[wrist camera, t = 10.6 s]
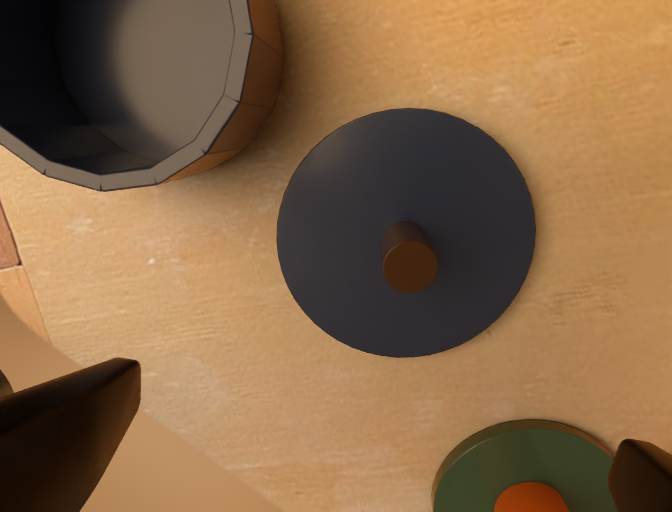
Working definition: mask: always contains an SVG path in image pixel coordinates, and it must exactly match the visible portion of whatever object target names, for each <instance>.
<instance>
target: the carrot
mask: <svg viewBox="0 0 672 512" xmlns="http://www.w3.org/2000/svg"><path fill="white" fill-rule="evenodd" d="M494 512H570V511H569V509H568V508H567V506H566V504H565V502H564V500H563V498H562V496H561V495H560V494H559V493H558V492H557V491H556V490H555V489H554V488H552V487H550V486H548V485H546V484H543V483H539V482H523V483H518V484H515V485H513V486H511V487H509V488H507V489H506V490H505V491H503V492H502V493H501V494H500V496H499V497H498V498H497V500H496V502H495V506H494Z"/></svg>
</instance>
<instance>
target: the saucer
mask: <svg viewBox="0 0 672 512" xmlns="http://www.w3.org/2000/svg"><path fill="white" fill-rule="evenodd" d="M613 460H614V458H613V457H612V456H611V454H610V453H609V452H608V451H607V450H606V448H605V447H603V446H602V445H601V444H600V443H599V442H598V441H597V440H595V439H594V438H592V437H591V436H589V435H588V434H586V433H584V432H582V431H580V430H578V429H576V428H573V427H570V426H567V425H564V424H561V423H556V422H552V421H543V420H520V421H511V422H507V423H502V424H498V425H495V426H492V427H489V428H486V429H484V430H482V431H480V432H478V433H476V434H474V435H472V436H471V437H469V438H468V439H466V440H464V441H463V442H462V443H461V444H459V445H458V446H457V447H456V448H455V449H454V450H453V451H452V452H451V453H450V454H449V455H448V456H447V458H446V459H445V460H444V462H443V463H442V465H441V466H440V468H439V470H438V472H437V474H436V477H435V480H434V483H433V488H432V494H431V498H432V510H433V512H494V506H495V502H496V500H497V498H498V497H499V496H500V494H501V493H502V492H503V491H505V490H506V489H507V488H509V487H511V486H513V485H515V484H518V483H523V482H539V483H543V484H546V485H548V486H550V487H552V488H554V489H555V490H556V491H557V492H558V493H559V494H560V495H561V496H562V498H563V500H564V502H565V504H566V506H567V508H568V509H569V511H570V512H617V510H616V507H615V504H614V502H613V499H612V496H611V494H610V491H609V488H608V473H609V470H610V468H611V465H612V462H613Z"/></svg>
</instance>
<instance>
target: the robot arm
mask: <svg viewBox="0 0 672 512" xmlns="http://www.w3.org/2000/svg"><path fill="white" fill-rule="evenodd" d="M140 400H141V366H140V363H139V362H138V361H137V360H132V359H126V358H114V359H111V360H108V361H105V362H102V363H99V364H96V365H93V366H91V367H88V368H85V369H82V370H79V371H76V372H73V373H70V374H68V375H65V376H62V377H59V378H56V379H53V380H51V381H48V382H45V383H42V384H39V385H36V386H33V387H31V388H27V389H24V390H22V391H19V392H16V393H13V394H10V395H7V396H4V397H1V398H0V512H79V511H80V510H81V508H82V507H83V506H84V504H85V503H86V501H87V500H88V498H89V497H90V495H91V494H92V492H93V491H94V489H95V487H96V485H97V484H98V482H99V481H100V479H101V477H102V475H103V474H104V472H105V470H106V468H107V466H108V465H109V463H110V461H111V459H112V457H113V455H114V453H115V451H116V449H117V448H118V446H119V444H120V442H121V441H122V438H123V437H124V435H125V433H126V431H127V429H128V428H129V426H130V424H131V422H132V420H133V418H134V416H135V415H136V413H137V411H138V408H139V405H140ZM608 488H609V491H610V494H611V496H612V499H613V502H614V504H615V507H616V510H617V512H672V455H670V454H669V453H667V452H665V451H664V450H662V449H660V448H659V447H657V446H655V445H654V444H652V443H650V442H647V441H641V440H634V439H625V440H623V441H622V442H621V443H620V445H619V447H618V449H617V452H616V455H615V457H614V460H613V462H612V465H611V468H610V470H609V473H608Z"/></svg>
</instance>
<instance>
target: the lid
mask: <svg viewBox="0 0 672 512" xmlns="http://www.w3.org/2000/svg"><path fill="white" fill-rule="evenodd" d="M535 232H536V226H535V213H534V208H533V204H532V199H531V195H530V192H529V190H528V187H527V184H526V182H525V179H524V177H523V176H522V174H521V172H520V170H519V168H518V167H517V165H516V163H515V162H514V161H513V160H512V158H511V157H510V156H509V154H508V153H507V152H506V150H505V149H504V148H503V147H501V146H500V145H499V144H498V143H497V142H496V141H495V140H494V139H493V138H492V137H491V136H489V135H488V134H487V133H485V132H484V131H482V130H481V129H480V128H478V127H476V126H474V125H473V124H471V123H469V122H467V121H465V120H463V119H461V118H458V117H455V116H452V115H449V114H447V113H443V112H438V111H433V110H428V109H416V108H403V109H390V110H385V111H380V112H376V113H372V114H369V115H366V116H363V117H360V118H357V119H355V120H353V121H351V122H349V123H347V124H345V125H343V126H341V127H339V128H338V129H337V130H335V131H334V132H332V133H331V134H329V135H328V136H326V137H325V138H324V139H323V140H322V141H321V142H319V143H318V144H317V145H316V146H315V147H314V148H313V149H312V150H311V151H310V152H309V153H308V155H307V156H306V157H305V158H304V159H303V161H302V162H301V163H300V165H299V166H298V168H297V169H296V171H295V173H294V174H293V176H292V177H291V179H290V182H289V184H288V186H287V188H286V190H285V193H284V196H283V199H282V202H281V206H280V209H279V215H278V221H277V250H278V257H279V262H280V266H281V270H282V273H283V276H284V278H285V281H286V283H287V286H288V288H289V290H290V291H291V293H292V295H293V297H294V299H295V300H296V302H297V303H298V305H299V306H300V307H301V309H302V310H303V311H304V313H305V314H306V315H307V316H308V317H309V318H310V319H311V320H312V321H313V322H314V323H315V324H316V325H317V326H318V327H320V328H321V329H322V330H323V331H324V332H326V333H327V334H329V335H330V336H332V337H333V338H335V339H336V340H338V341H340V342H342V343H344V344H346V345H348V346H350V347H352V348H355V349H358V350H361V351H364V352H366V353H371V354H375V355H380V356H387V357H397V358H400V357H419V356H426V355H431V354H435V353H439V352H443V351H446V350H449V349H451V348H454V347H456V346H459V345H461V344H463V343H465V342H467V341H468V340H470V339H472V338H474V337H475V336H477V335H478V334H480V333H481V332H483V331H484V330H485V329H487V328H488V327H489V326H490V325H491V324H492V323H494V322H495V321H496V320H497V319H498V318H499V317H500V316H501V315H502V314H503V312H504V311H505V310H506V309H507V308H508V307H509V306H510V304H511V303H512V301H513V300H514V298H515V297H516V295H517V294H518V292H519V290H520V288H521V286H522V284H523V282H524V280H525V278H526V276H527V273H528V270H529V267H530V264H531V261H532V256H533V251H534V246H535Z"/></svg>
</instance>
